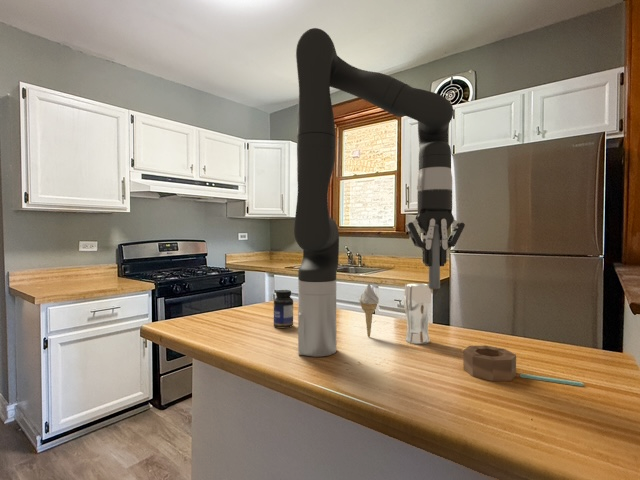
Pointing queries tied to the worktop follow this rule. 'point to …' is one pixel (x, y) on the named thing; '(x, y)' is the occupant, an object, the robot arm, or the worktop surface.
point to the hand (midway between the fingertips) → (434, 265)
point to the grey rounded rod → (435, 260)
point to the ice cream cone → (368, 305)
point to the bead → (489, 363)
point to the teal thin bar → (551, 379)
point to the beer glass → (417, 312)
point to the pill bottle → (283, 309)
